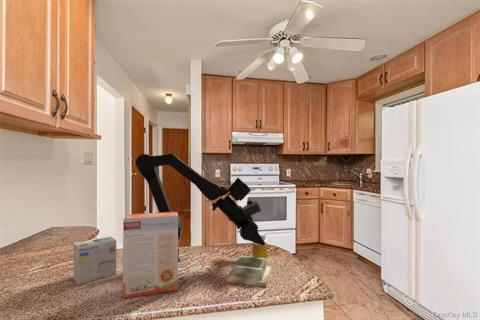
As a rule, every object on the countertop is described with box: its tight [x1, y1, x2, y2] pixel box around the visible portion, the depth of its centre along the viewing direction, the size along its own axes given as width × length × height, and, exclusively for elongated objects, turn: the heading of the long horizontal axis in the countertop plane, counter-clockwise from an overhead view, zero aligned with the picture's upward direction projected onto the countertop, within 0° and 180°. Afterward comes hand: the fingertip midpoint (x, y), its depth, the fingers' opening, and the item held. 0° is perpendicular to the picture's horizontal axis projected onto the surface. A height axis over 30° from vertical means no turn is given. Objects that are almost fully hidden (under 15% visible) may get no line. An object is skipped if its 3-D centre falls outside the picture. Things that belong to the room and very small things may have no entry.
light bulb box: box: [73, 235, 117, 286], centre depth 75 cm, size 11×7×11 cm, turn 135°
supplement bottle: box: [252, 231, 269, 259], centre depth 88 cm, size 5×5×10 cm
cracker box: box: [122, 211, 179, 299], centre depth 67 cm, size 14×6×21 cm, turn 106°
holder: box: [225, 254, 272, 288], centre depth 77 cm, size 12×12×4 cm
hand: (261, 240), depth 88 cm, fingers open, 9 cm apart
